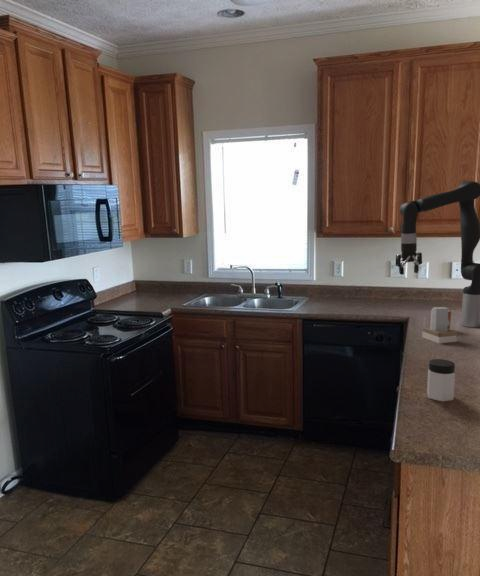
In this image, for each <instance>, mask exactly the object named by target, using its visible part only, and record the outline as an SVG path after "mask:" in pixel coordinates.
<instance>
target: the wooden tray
mask: <svg viewBox="0 0 480 576" xmlns="http://www.w3.org/2000/svg"><path fill="white" fill-rule="evenodd" d="M421 332H422V335H421V338H424V339H426V340H429V341H430V342H434V343H437V344H440V345H441V344H447V343H457V342H458V331H456V330H454V331H451V330H450V331H447V332H442V333H439V332H436V331H434V330H431V329H430V328H428V327H422V331H421Z"/></svg>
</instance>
